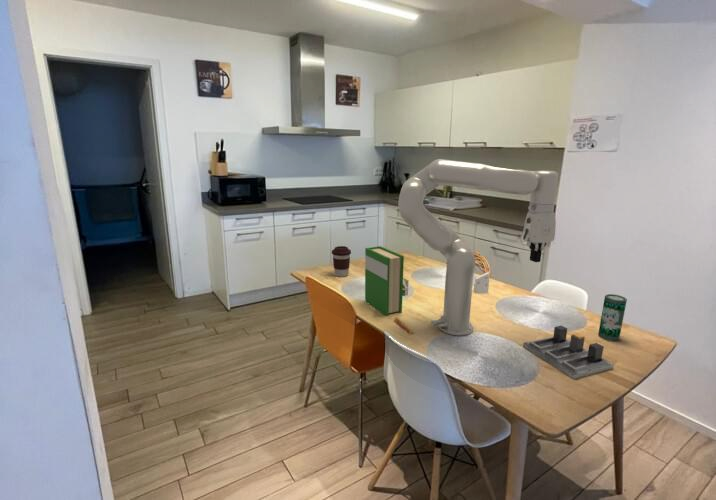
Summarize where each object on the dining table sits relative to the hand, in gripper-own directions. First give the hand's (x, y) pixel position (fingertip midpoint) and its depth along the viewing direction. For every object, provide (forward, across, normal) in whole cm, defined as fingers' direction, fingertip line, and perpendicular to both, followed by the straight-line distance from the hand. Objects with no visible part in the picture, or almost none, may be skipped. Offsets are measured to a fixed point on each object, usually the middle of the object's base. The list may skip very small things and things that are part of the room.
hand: (534, 261), depth 133 cm
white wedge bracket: (+27, +11, +40) cm, 50 cm away
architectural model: (+28, -24, +51) cm, 63 cm away
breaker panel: (+27, -1, -18) cm, 33 cm away
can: (+27, +25, -13) cm, 39 cm away
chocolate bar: (+28, -40, +20) cm, 52 cm away
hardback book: (+27, -39, +40) cm, 62 cm away
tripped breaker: (+25, +3, -18) cm, 31 cm away
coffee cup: (+27, -42, +86) cm, 100 cm away
